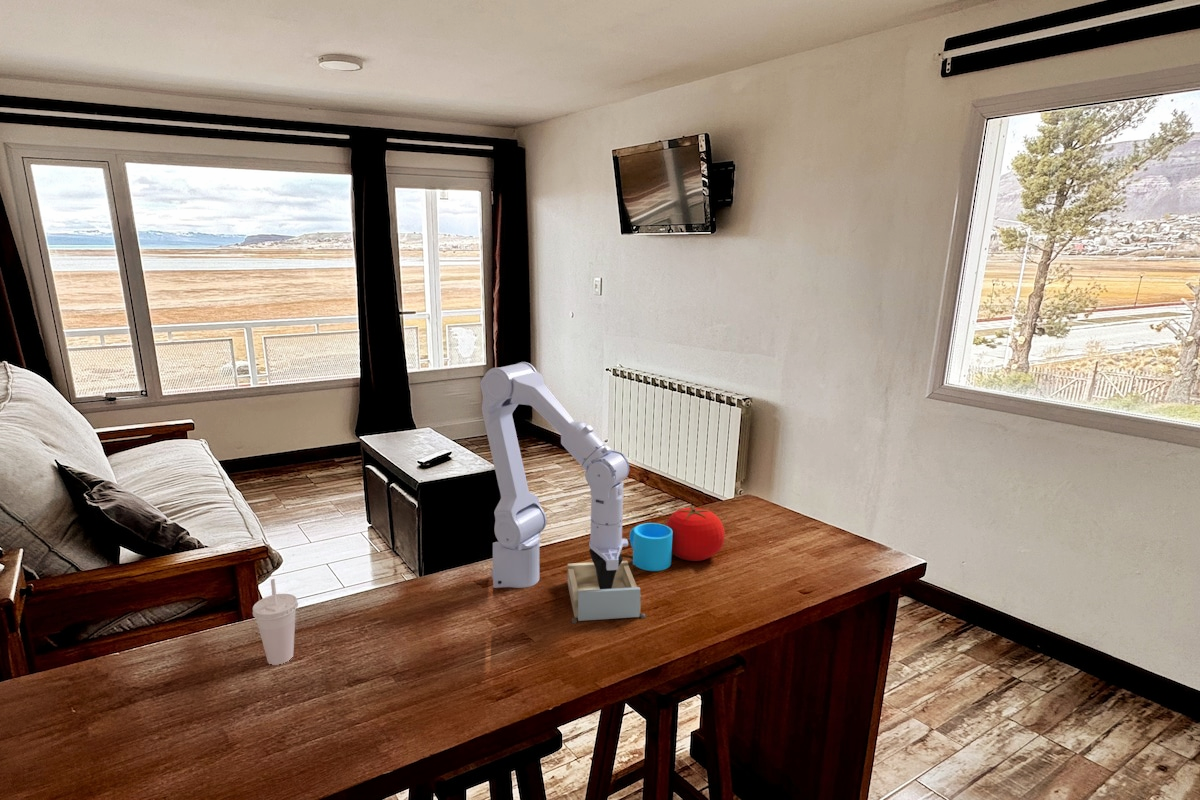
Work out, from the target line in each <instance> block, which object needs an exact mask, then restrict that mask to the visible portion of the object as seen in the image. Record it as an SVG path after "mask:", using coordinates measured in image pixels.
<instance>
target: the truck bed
mask: <svg viewBox="0 0 1200 800" xmlns="http://www.w3.org/2000/svg"><path fill="white" fill-rule="evenodd" d="M566 574H567V577H566V578H567V581H566V582H567V587H568V591H569V596H570V602H571V607H572V608H571V609H572V612H573V618H571V623H572V624H577V623H578V621H577V620H578V591H580V590H597V589H600V588H599V584H598V580H597V574H596V568H595V565H594V563H593V561H592V562H575V563H573V562H572V563H567V573H566ZM631 587H638V585H637V583H636V581H635V579H634V576H633V573H632V571H631V569H630V566H629V561H628V560H622V562H621V564H620V565H619V567H618V570H617V571H616V574H615V577H614V581H613V585H612V588H611V589H614V588H631ZM641 601H642V595H641V594H640V611H641V607H642V606H641V605H642V602H641ZM639 617H640V619H641V620H642V619H643V620H644V619H646V613H640V616H639Z"/></svg>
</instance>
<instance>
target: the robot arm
mask: <svg viewBox="0 0 1200 800" xmlns="http://www.w3.org/2000/svg"><path fill="white" fill-rule="evenodd" d="M479 385H480V389H481V394H482V401H481V413H482V417H483V422H484V427H485V431H486V435H487V440H488V445H489V448H490V453H491V458H492V462H493V466H494V471H495V475H496V480H497V486H498V489H499V494H500V500H499V501H498V503H497V505H496V507H495V509H494V512H493V513H494V520H495V521H494V535H495V538H496V539H497V541H495V542H492V569H491V579H492V587H493V588H495V589H498V588H518V589H523V588H528V587H529V588H530V587H533V586H535V585H536V584H538V582H539V581H540V538H542V535H541V533H542V532H543V531H544V530H545V528H546V527H547V523H548V522H547V521H548V520H547V515H546V512H545V510H544V509H543V507H542V506H541V504H540V499H539V496H537V495H536V494H534V493H532V492H531V491H530V490H529V485H528V480H527V477H526V472H525V468H524V463H523V458H522V453H521V449H520V444H519V440H518V437H517V436H518V434H517V431H516V427H515V422H514V418H513V413H514V411H515V410H516V408H517V407H518V406H519V405H523V406H524V405H525V406H530V407H532V409H533V410H535V411H536V412H537V413H538V414H539V415H540V416H541V417H543V419H544V420H546V421H547V422H548V423H549V424H550V426H552V427H553V428H554V429H555V431H557V432H558V433H559V434H560V445H562V447H564V449H565V450H566V451H567V452H568V453H569V454H570V455H571V456H572V457H573V458H574V460H575V461H576V462H577V463H578V464H579V465H580V466H581V467H582V468H583V470H584V477H585V481H586V483H587V484H588V486H589V489H590V539H589V541H588V542H589V543H588V544H589V545H588V546H589V551H588V552H589V555H590V557H591V561H592V562H593V563H594V565H595V568H596V574H597V580H598V584H599V588H600V589H611V588H612V585H613V581H614V577H615V574H616V571H617V570H618V567H619V565H620V564H621V562H622V561H624V560H623V555H622V553H621V552H622V549H623V547H624V548H625V547H628V546H629V541H628V539H627V538H623V516H624V515H623V512H624V511H623V510H624V482H623V481H624V480H626V479H627V477H628V475H629V472H630V464H629V461H628V459H627V458H626V456H625V455H624V453H623V452H622V451H619V450H616V449H612V448H611V447H610V446H609V445H607V444H605V442H603V441H602V439H600V437H599V436H598V435H597V434H596V433H595V432H594V431H595V429H594V428H593V426H592V425H591V424H587V423H585V422H582V421H576V420H574V419H573V417H572V416H571V415H570V414H569V412H568V410H566V409H565V408H564V406H563V405H562V404H561V403H560V401H559V400H558V399H557V398H556V397H555V396H554V394H553V393H552V392H551V391H550V389H549V388H548V387H547V385H546V384H545V380H544V377H543V375H542V374H541V373H540V372H539V371H537V369H536V368H535V367H534V365H532V364H531V363H529V362H526V361H521V362H517V363H515V364H510V365H505V366H501V367H492V368H490V369H489V370H487V371H486V372H485V374H484V376H483V377H482V379H481V381H480V382H479Z"/></svg>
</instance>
